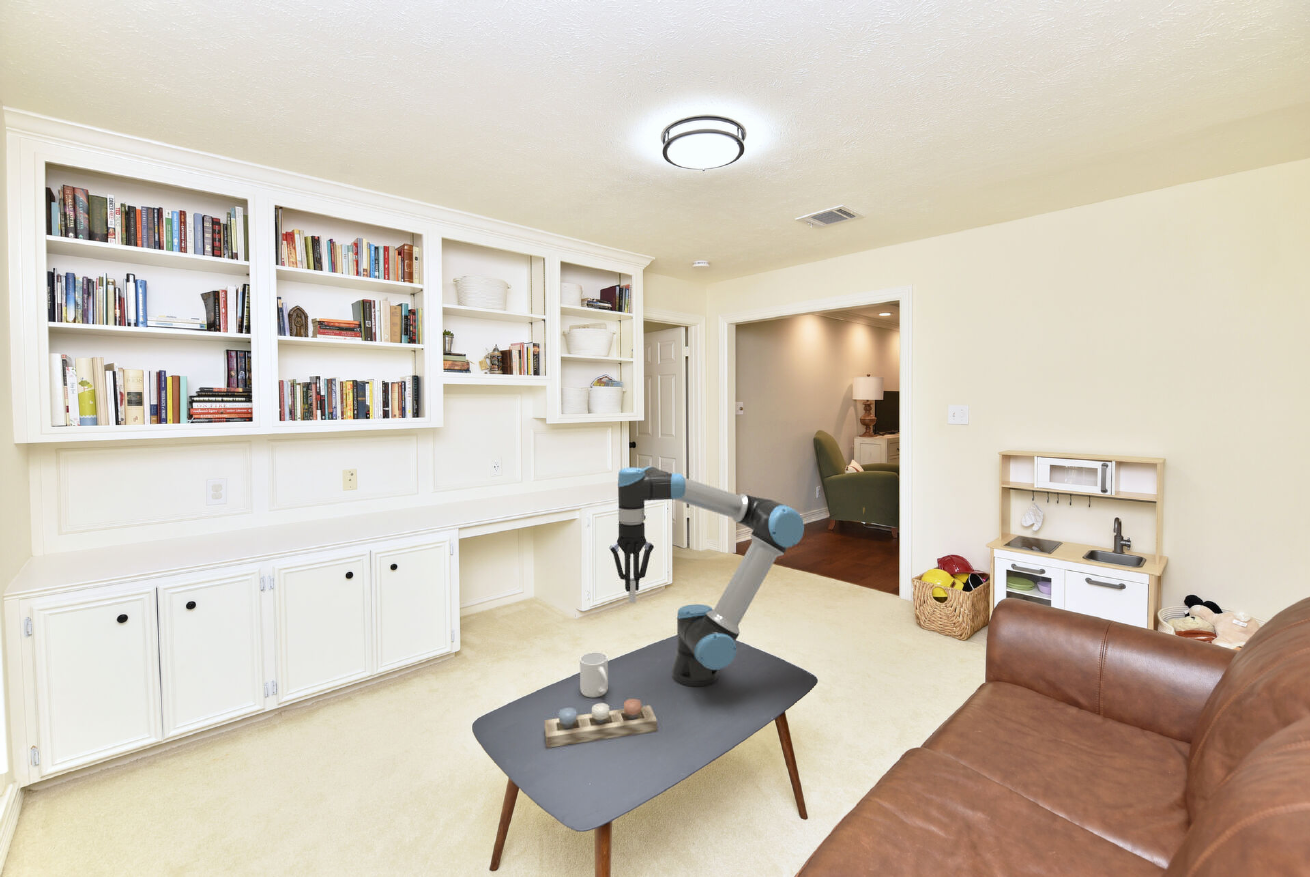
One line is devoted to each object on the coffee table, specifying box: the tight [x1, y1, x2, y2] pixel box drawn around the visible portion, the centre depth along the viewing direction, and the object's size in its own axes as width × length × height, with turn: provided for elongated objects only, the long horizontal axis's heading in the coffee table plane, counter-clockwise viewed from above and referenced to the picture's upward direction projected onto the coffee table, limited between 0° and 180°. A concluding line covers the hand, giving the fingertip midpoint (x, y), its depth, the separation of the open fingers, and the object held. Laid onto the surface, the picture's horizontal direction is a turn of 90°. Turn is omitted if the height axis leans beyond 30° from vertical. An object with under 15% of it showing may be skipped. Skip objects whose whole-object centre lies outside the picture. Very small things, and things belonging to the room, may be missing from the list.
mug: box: [579, 651, 609, 698], centre depth 180 cm, size 9×12×11 cm
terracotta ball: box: [623, 698, 642, 720], centre depth 162 cm, size 5×5×4 cm
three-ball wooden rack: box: [544, 705, 658, 749], centre depth 160 cm, size 30×8×3 cm, turn 104°
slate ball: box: [558, 707, 578, 730], centre depth 158 cm, size 5×5×4 cm
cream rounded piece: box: [591, 702, 610, 725], centre depth 160 cm, size 5×5×4 cm
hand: (632, 601), depth 169 cm, fingers closed
